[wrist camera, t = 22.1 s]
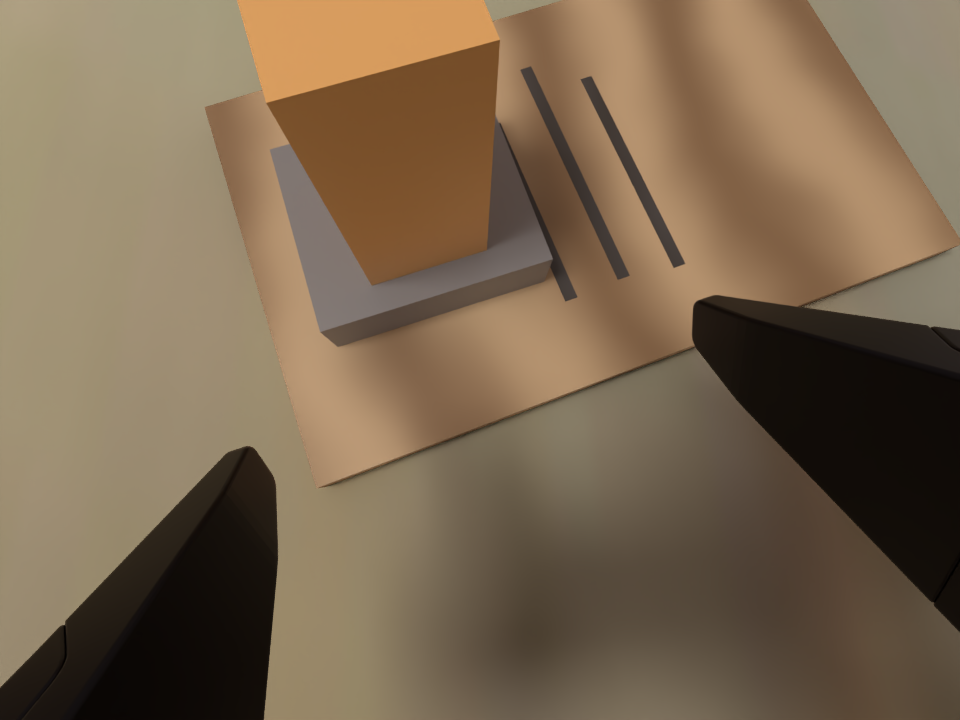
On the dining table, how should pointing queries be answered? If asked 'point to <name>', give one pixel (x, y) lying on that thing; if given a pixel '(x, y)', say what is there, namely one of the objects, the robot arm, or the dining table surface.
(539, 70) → the board
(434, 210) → the sanding block
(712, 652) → the dining table surface
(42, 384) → the dining table surface
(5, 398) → the dining table surface
